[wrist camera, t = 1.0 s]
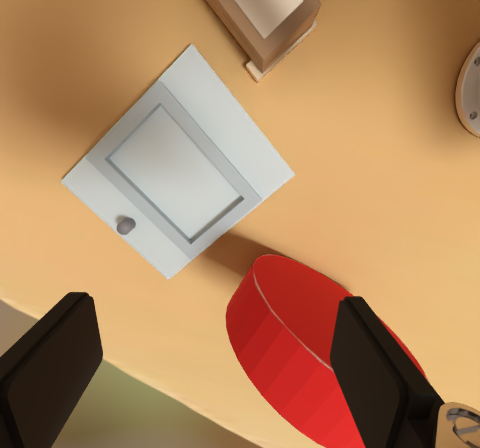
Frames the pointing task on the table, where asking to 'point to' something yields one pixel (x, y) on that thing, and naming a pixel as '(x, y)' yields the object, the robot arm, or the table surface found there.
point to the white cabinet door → (179, 167)
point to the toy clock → (294, 346)
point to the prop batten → (258, 74)
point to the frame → (266, 25)
